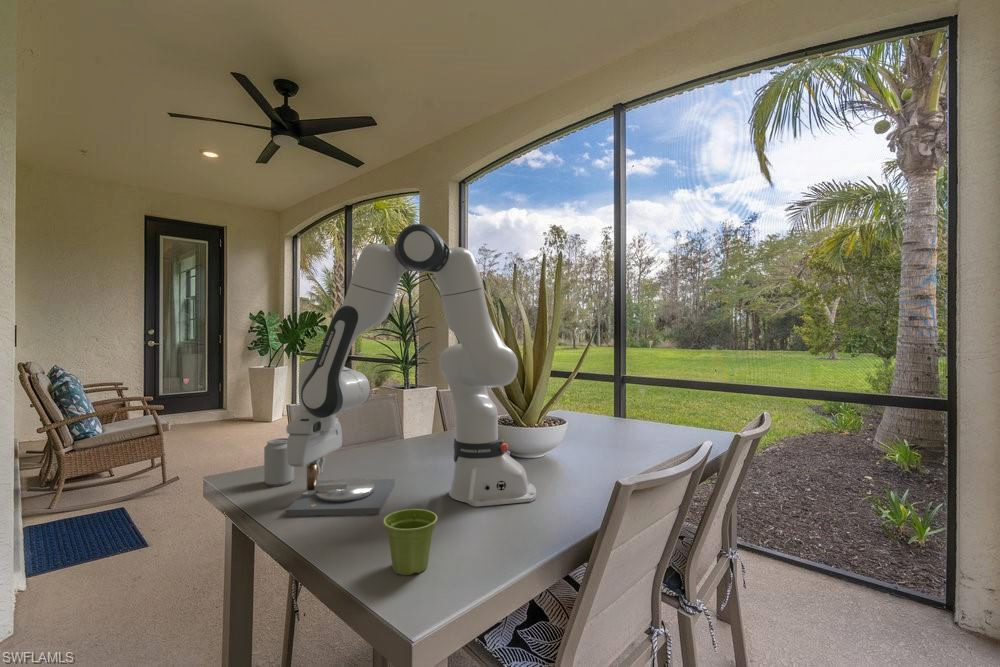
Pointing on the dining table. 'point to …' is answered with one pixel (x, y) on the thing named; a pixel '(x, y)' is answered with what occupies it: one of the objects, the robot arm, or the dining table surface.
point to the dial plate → (363, 506)
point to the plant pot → (410, 539)
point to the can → (277, 463)
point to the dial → (338, 487)
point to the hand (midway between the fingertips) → (317, 474)
